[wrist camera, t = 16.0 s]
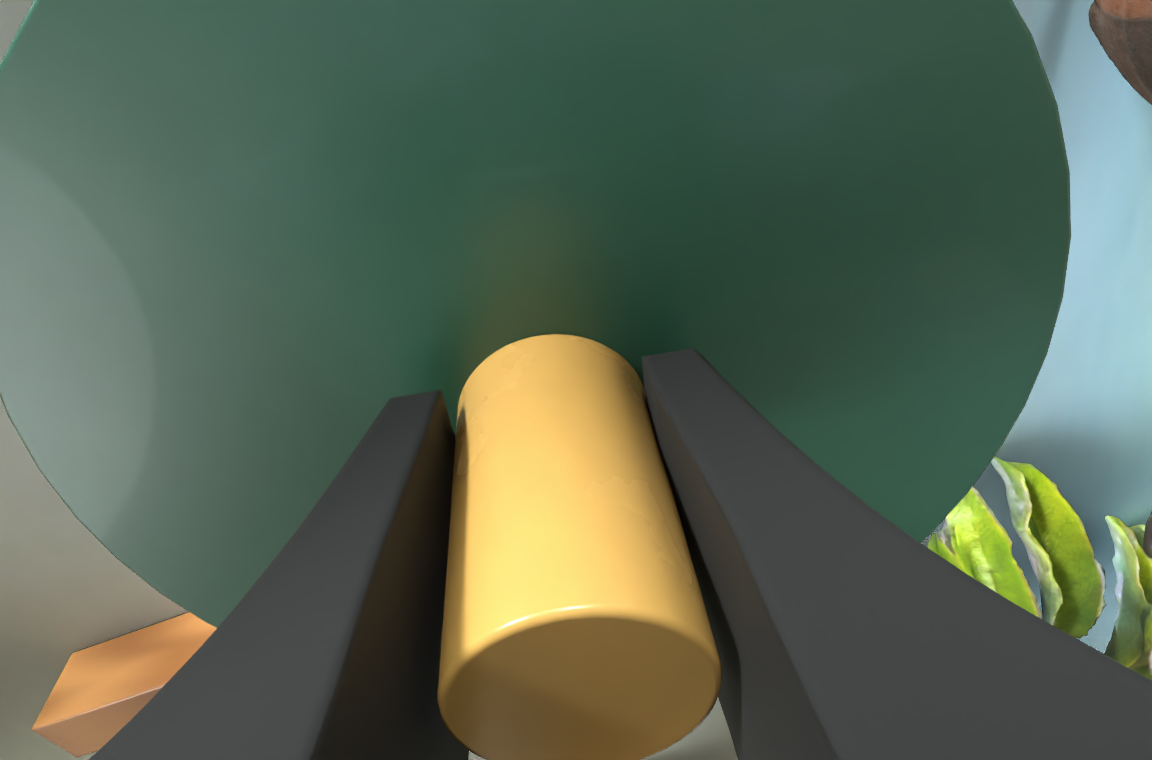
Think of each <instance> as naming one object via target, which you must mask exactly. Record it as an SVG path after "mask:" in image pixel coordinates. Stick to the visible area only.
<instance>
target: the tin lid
mask: <svg viewBox="0 0 1152 760" xmlns="http://www.w3.org/2000/svg"><path fill="white" fill-rule="evenodd" d="M1070 239H1071V222H1070V173H1069V167H1068V161H1067V156H1066V150H1065V145H1064V139H1063V134H1062V128H1061V123H1060V117H1059V112H1058V107H1057V103H1056V100H1055V97H1054V95H1053V92H1052V89H1051V86H1050V84H1049V81H1048V78H1047V75H1046V73H1045V70H1044V67H1043V65H1042V62H1041V59H1040V56H1039V54H1038V51H1037V48H1036V45H1035V43H1034V40H1033V37H1032V35H1031V33H1030V31H1029V29H1028V27H1027V26H1026V24H1025V22H1024V21H1023V19H1022V17H1021V15H1020V14H1019V12H1018V10H1017V8H1016V7H1015V5H1014V3H1013V1H1012V0H34V1H33V3H32V5H31V7H30V9H29V11H28V13H27V15H26V16H25V18H24V20H23V22H22V24H21V26H20V28H19V30H18V32H17V33H16V35H15V37H14V39H13V41H12V43H11V45H10V47H9V48H8V50H7V52H6V54H5V56H4V58H3V60H2V62H1V64H0V397H1V399H2V402H3V404H4V407H5V409H6V412H7V414H8V417H9V418H10V420H11V422H12V424H13V425H14V427H15V429H16V430H17V432H18V434H19V436H20V437H21V439H22V441H23V442H24V444H25V446H26V448H27V449H28V451H29V453H30V455H31V456H32V458H33V460H34V461H35V463H36V465H37V467H38V468H39V470H40V471H41V473H42V474H43V475H44V477H45V478H46V479H47V480H48V482H49V483H50V484H51V486H52V487H53V488H54V489H55V491H56V492H57V493H58V495H59V496H60V497H61V499H62V500H63V501H64V502H65V504H66V505H67V506H68V508H69V509H70V510H71V511H72V513H73V514H74V515H75V517H76V518H77V519H78V520H79V521H80V522H81V523H82V524H83V525H84V526H85V527H86V528H87V529H88V530H89V531H90V532H91V533H92V534H93V535H94V536H95V537H96V538H97V539H98V540H99V541H100V542H101V543H102V544H103V545H104V546H105V547H106V548H107V549H108V550H109V551H110V552H111V553H112V554H113V555H114V556H115V557H116V558H117V559H118V560H120V561H121V562H122V563H123V564H125V565H126V566H127V567H128V568H130V569H131V570H132V571H133V572H135V573H136V574H137V575H138V576H139V577H141V578H142V579H143V580H144V581H146V582H147V583H148V584H149V585H151V586H152V587H153V588H154V589H156V590H157V591H158V592H159V593H161V594H162V595H164V596H166V597H167V598H169V599H170V600H172V601H173V602H175V603H176V604H178V605H179V606H181V607H183V608H184V609H186V610H187V611H189V612H190V613H192V614H193V615H195V616H197V617H198V618H200V619H201V620H203V621H204V622H206V623H208V624H210V625H212V626H214V627H216V628H218V627H219V626H220V624H221V623H222V622H223V621H224V620H225V619H226V618H227V616H228V615H229V614H230V613H231V612H232V611H233V609H234V608H235V607H236V606H237V605H238V604H239V602H240V601H241V600H242V599H243V597H244V596H245V595H246V594H247V592H248V591H249V590H250V589H251V587H252V586H253V585H254V584H255V582H256V581H257V580H258V579H259V577H260V576H261V575H262V574H263V572H264V571H265V570H266V569H267V567H268V566H269V565H270V564H271V562H272V561H273V560H274V559H275V557H276V556H277V555H278V554H279V552H280V551H281V550H282V549H283V547H284V546H285V545H286V544H287V542H288V541H289V540H290V538H291V537H292V536H293V534H294V533H295V532H296V530H297V529H298V528H299V526H300V525H301V523H302V522H303V521H304V519H305V518H306V517H307V515H308V514H309V512H310V511H311V510H312V508H313V507H314V506H315V504H316V503H317V501H318V500H319V499H320V497H321V496H322V495H323V493H324V492H325V490H326V489H327V488H328V486H329V485H330V484H331V482H332V481H333V479H334V478H335V476H336V475H337V474H338V472H339V471H340V469H341V468H342V466H343V465H344V463H345V462H346V461H347V459H348V458H349V456H350V455H351V453H352V452H353V450H354V449H355V448H356V446H357V445H358V443H359V442H360V440H361V439H362V437H363V436H364V434H365V433H366V431H367V430H368V429H369V427H370V426H371V424H372V423H373V421H374V420H375V418H376V417H377V416H378V414H379V413H380V412H381V410H382V409H383V407H384V406H385V405H386V403H387V402H388V401H389V399H390V398H394V397H400V396H406V395H412V394H418V393H424V392H430V391H436V390H441V391H442V394H443V398H444V401H445V404H446V407H447V411H448V414H449V417H450V421H451V424H452V427H453V430H454V434H455V437H456V439H455V453H454V467H453V481H452V495H451V509H450V523H449V537H448V551H447V565H446V579H445V593H444V607H443V621H442V635H441V649H440V663H439V677H438V691H437V703H438V707H439V712H440V715H441V717H442V719H443V722H444V724H445V726H446V728H447V729H448V731H449V732H450V734H451V735H452V736H453V738H455V739H456V740H457V741H458V742H459V743H460V744H461V745H462V746H463V747H465V748H466V749H468V750H469V751H471V752H472V753H474V754H476V755H478V756H480V757H482V758H483V759H486V760H641V759H644V758H646V757H649V756H651V755H654V754H656V753H658V752H660V751H662V750H664V749H666V748H668V747H670V746H672V745H673V744H675V743H677V742H678V741H680V740H681V739H683V738H684V737H685V736H687V735H688V734H690V733H691V732H692V731H693V730H694V729H695V728H696V727H697V726H699V725H700V724H701V723H702V722H703V720H704V719H705V718H706V717H707V716H708V714H709V713H710V711H711V710H712V708H713V706H714V705H715V703H716V700H717V698H718V695H719V691H720V686H721V680H722V666H721V662H720V658H719V655H718V651H717V648H716V644H715V641H714V637H713V633H712V630H711V626H710V623H709V619H708V616H707V612H706V608H705V605H704V601H703V598H702V594H701V591H700V587H699V583H698V580H697V576H696V573H695V569H694V565H693V562H692V558H691V555H690V551H689V548H688V544H687V540H686V537H685V533H684V530H683V526H682V523H681V519H680V515H679V512H678V508H677V505H676V501H675V498H674V494H673V491H672V487H671V484H670V481H669V478H668V474H667V471H666V468H665V465H664V462H663V459H662V456H661V453H660V449H659V446H658V442H657V438H656V435H655V431H654V428H653V424H652V420H651V417H650V413H649V410H648V406H647V402H646V396H645V387H644V377H643V367H642V358H641V357H642V356H648V355H655V354H661V353H667V352H673V351H679V350H685V349H691V348H693V349H695V350H696V351H697V352H699V353H700V354H701V355H703V356H704V357H705V359H706V360H707V361H708V362H709V363H710V364H711V365H712V366H713V367H714V368H715V369H716V370H717V371H718V372H719V373H720V374H721V376H722V377H723V378H724V379H725V380H726V381H727V382H728V383H729V384H730V385H731V386H732V387H733V388H734V389H735V390H736V391H737V392H738V393H739V394H740V395H741V396H742V397H743V398H744V399H745V400H747V401H748V402H749V403H750V404H751V405H752V406H753V407H754V408H755V409H756V410H757V411H758V412H759V413H760V414H761V415H762V416H763V417H764V418H765V419H766V420H768V421H769V422H770V423H771V424H772V425H773V426H774V427H775V428H776V429H777V430H779V431H780V432H781V433H782V434H783V435H784V436H785V437H787V438H788V439H789V440H790V441H791V442H792V443H793V444H795V445H796V446H797V447H798V448H799V449H800V450H801V451H803V452H804V453H805V454H806V455H807V456H808V457H809V458H811V459H812V460H813V461H814V462H815V463H816V464H818V465H819V466H820V467H821V468H823V469H824V470H825V471H826V472H827V473H829V474H830V475H831V476H832V477H833V478H835V479H836V480H837V481H838V482H840V483H841V484H842V485H843V486H845V487H846V488H847V489H849V490H850V491H851V492H852V493H854V494H855V495H856V496H858V497H859V498H860V499H861V500H863V501H864V502H865V503H867V504H868V505H869V506H870V507H872V508H873V509H874V510H876V511H877V512H878V513H880V514H881V515H882V516H884V517H885V518H887V519H888V520H889V521H891V522H892V523H893V524H895V525H896V526H897V527H899V528H900V529H902V530H903V531H904V532H906V533H907V534H909V535H910V536H911V537H913V538H914V539H916V540H917V541H918V542H920V543H921V542H922V541H923V540H924V539H925V538H926V537H928V536H929V535H930V534H931V533H932V532H933V531H934V530H935V529H936V527H937V526H938V525H939V524H940V523H941V522H942V521H943V520H944V519H945V518H946V517H947V515H948V514H949V513H950V512H951V511H952V510H953V509H954V508H955V507H956V506H957V505H958V503H959V502H960V501H961V500H962V499H963V498H964V497H965V496H966V495H967V493H968V492H969V491H970V489H971V488H972V487H973V485H974V484H975V482H976V481H977V480H978V478H979V477H980V476H981V474H982V473H983V472H984V470H985V469H986V468H987V466H988V465H989V464H990V462H991V461H992V459H993V458H994V457H995V455H996V454H997V453H998V451H999V449H1000V448H1001V446H1002V444H1003V442H1004V441H1005V439H1006V437H1007V435H1008V434H1009V432H1010V430H1011V429H1012V427H1013V425H1014V423H1015V422H1016V420H1017V418H1018V416H1019V415H1020V413H1021V411H1022V410H1023V408H1024V406H1025V404H1026V402H1027V399H1028V397H1029V395H1030V392H1031V390H1032V388H1033V385H1034V383H1035V381H1036V378H1037V376H1038V374H1039V371H1040V369H1041V367H1042V364H1043V362H1044V359H1045V357H1046V355H1047V352H1048V348H1049V345H1050V341H1051V338H1052V334H1053V330H1054V327H1055V323H1056V320H1057V316H1058V312H1059V309H1060V305H1061V302H1062V298H1063V292H1064V284H1065V277H1066V269H1067V261H1068V254H1069V246H1070Z"/></svg>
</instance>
